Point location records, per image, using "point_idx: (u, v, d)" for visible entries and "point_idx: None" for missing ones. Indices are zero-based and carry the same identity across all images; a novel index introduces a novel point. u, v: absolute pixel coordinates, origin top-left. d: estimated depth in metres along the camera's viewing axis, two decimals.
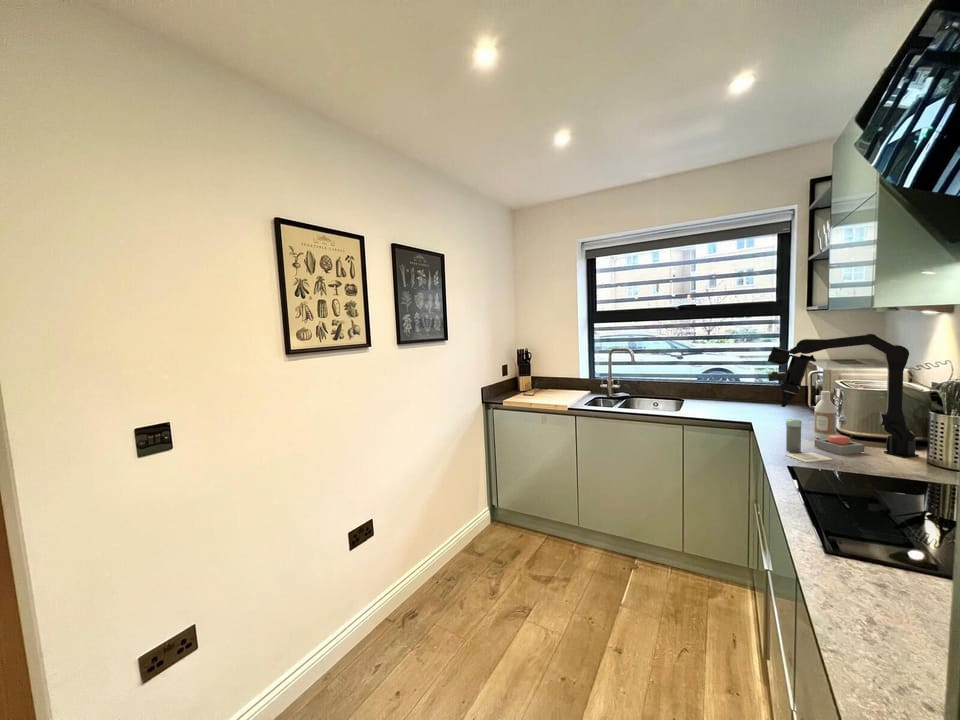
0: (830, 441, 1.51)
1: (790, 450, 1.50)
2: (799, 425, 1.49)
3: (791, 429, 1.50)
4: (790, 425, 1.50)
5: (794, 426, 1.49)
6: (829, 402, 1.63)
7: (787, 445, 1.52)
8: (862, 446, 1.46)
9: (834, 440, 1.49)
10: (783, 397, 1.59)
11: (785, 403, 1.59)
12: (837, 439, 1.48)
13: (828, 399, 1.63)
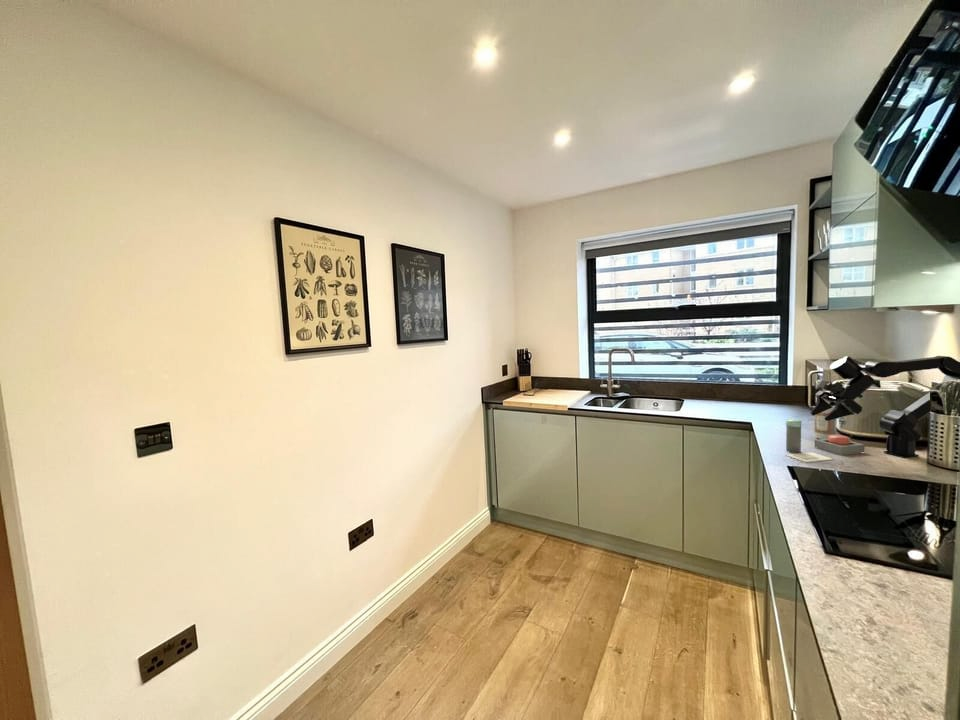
0: (830, 441, 1.51)
1: (790, 450, 1.50)
2: (799, 425, 1.49)
3: (791, 429, 1.50)
4: (790, 425, 1.50)
5: (794, 426, 1.49)
6: None
7: (787, 445, 1.52)
8: (862, 446, 1.46)
9: (834, 440, 1.49)
10: (835, 411, 1.42)
11: (831, 418, 1.43)
12: (837, 439, 1.48)
13: None
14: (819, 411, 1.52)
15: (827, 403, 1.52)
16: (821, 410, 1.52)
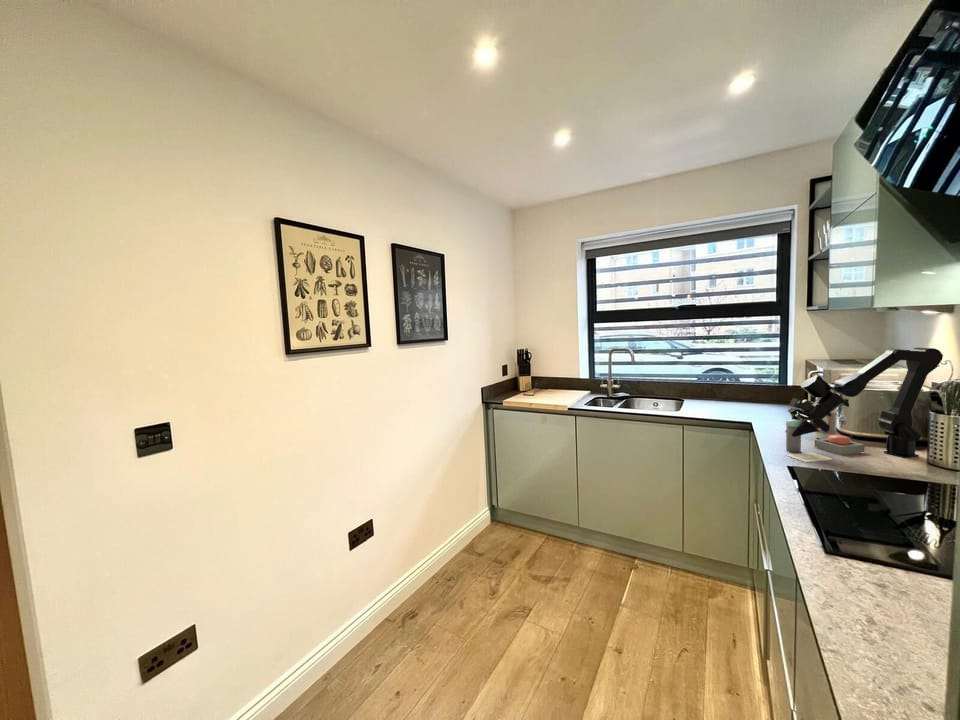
0: (830, 441, 1.51)
1: (790, 450, 1.50)
2: (799, 425, 1.49)
3: (791, 429, 1.50)
4: (790, 425, 1.50)
5: (794, 426, 1.49)
6: None
7: (787, 445, 1.52)
8: (862, 446, 1.46)
9: (834, 440, 1.49)
10: (801, 428, 1.47)
11: (798, 434, 1.48)
12: (837, 439, 1.48)
13: None
14: None
15: None
16: None
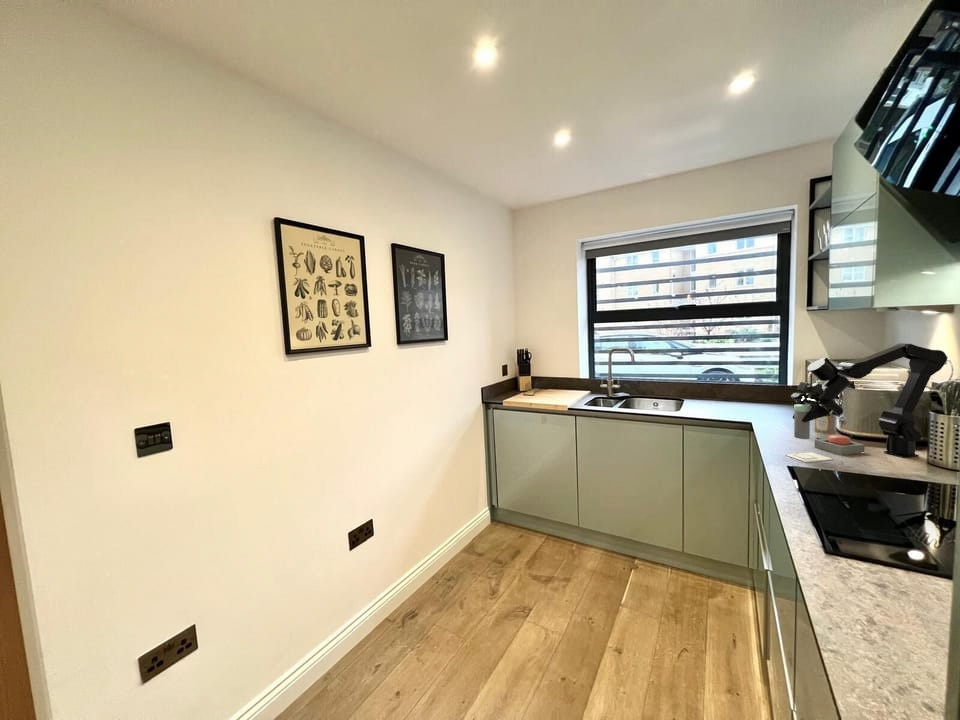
0: (830, 441, 1.51)
1: (800, 436, 1.44)
2: (809, 410, 1.43)
3: (801, 414, 1.43)
4: (800, 410, 1.44)
5: (804, 411, 1.43)
6: None
7: (796, 431, 1.45)
8: (862, 446, 1.46)
9: (834, 440, 1.49)
10: (812, 412, 1.41)
11: (808, 419, 1.42)
12: (837, 439, 1.48)
13: None
14: None
15: None
16: None
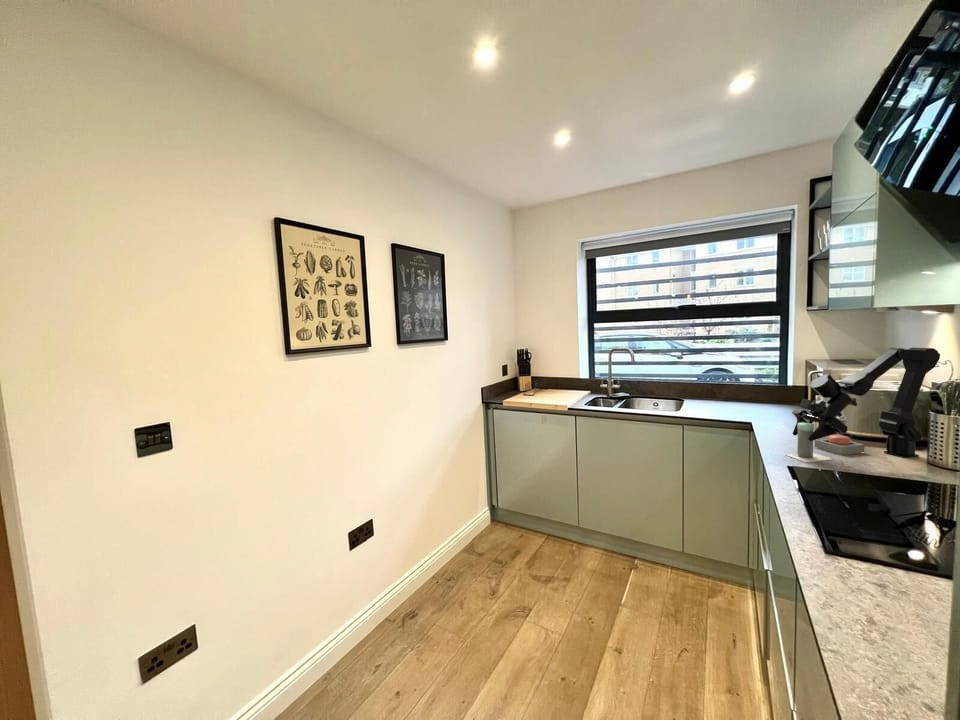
0: (830, 441, 1.51)
1: (803, 455, 1.43)
2: (812, 429, 1.41)
3: (805, 433, 1.42)
4: (803, 429, 1.42)
5: (808, 430, 1.41)
6: None
7: (799, 450, 1.44)
8: (862, 446, 1.46)
9: (834, 440, 1.49)
10: (819, 431, 1.38)
11: (815, 438, 1.39)
12: (837, 439, 1.48)
13: None
14: None
15: (807, 422, 1.48)
16: None
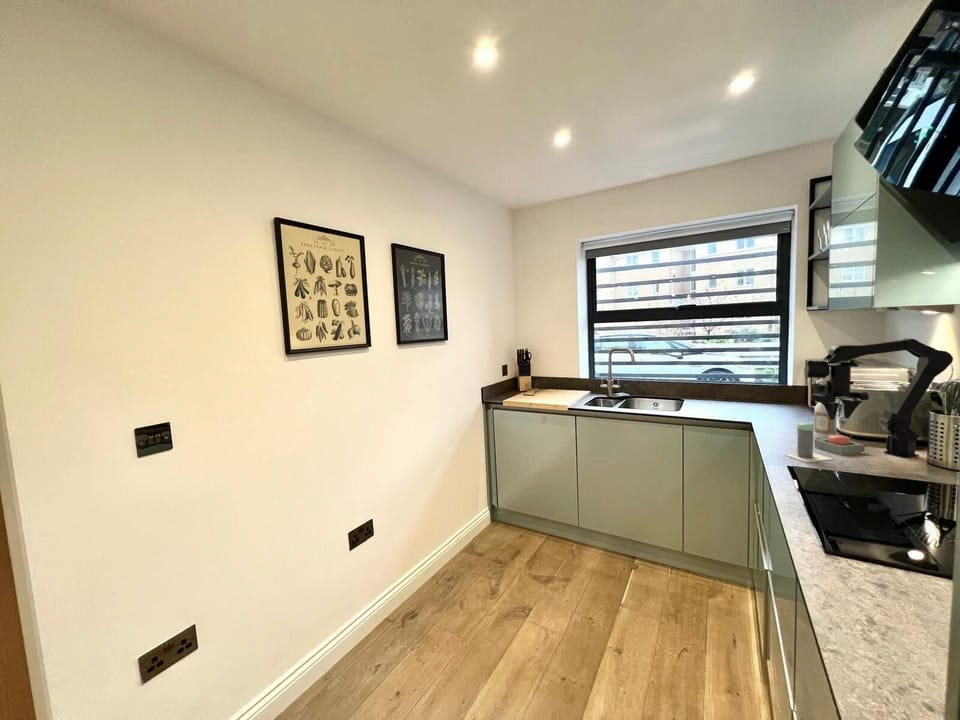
0: (830, 441, 1.51)
1: (803, 455, 1.43)
2: (812, 429, 1.41)
3: (804, 433, 1.42)
4: (803, 429, 1.42)
5: (808, 430, 1.41)
6: None
7: (799, 450, 1.44)
8: (862, 446, 1.46)
9: (834, 440, 1.49)
10: (826, 409, 1.50)
11: (831, 415, 1.49)
12: (837, 439, 1.48)
13: None
14: (849, 412, 1.49)
15: (850, 401, 1.49)
16: (849, 410, 1.49)
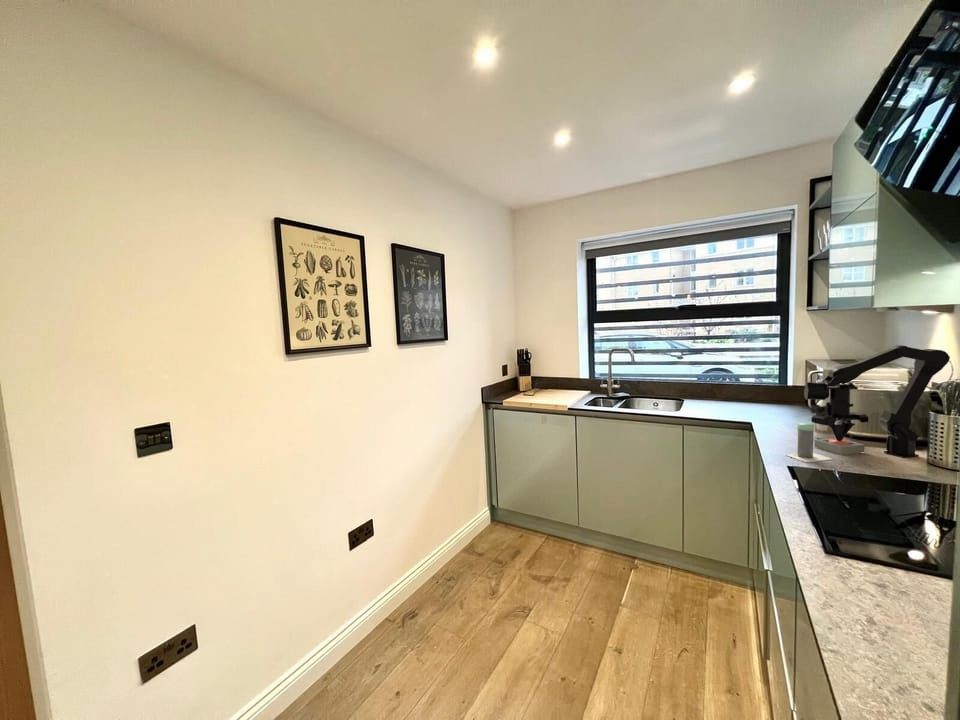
0: None
1: (803, 455, 1.43)
2: (812, 429, 1.41)
3: (805, 433, 1.42)
4: (804, 429, 1.42)
5: (808, 430, 1.41)
6: None
7: (800, 450, 1.44)
8: (862, 446, 1.46)
9: None
10: (833, 430, 1.51)
11: (838, 436, 1.50)
12: (837, 443, 1.49)
13: (828, 399, 1.63)
14: None
15: (843, 423, 1.49)
16: None
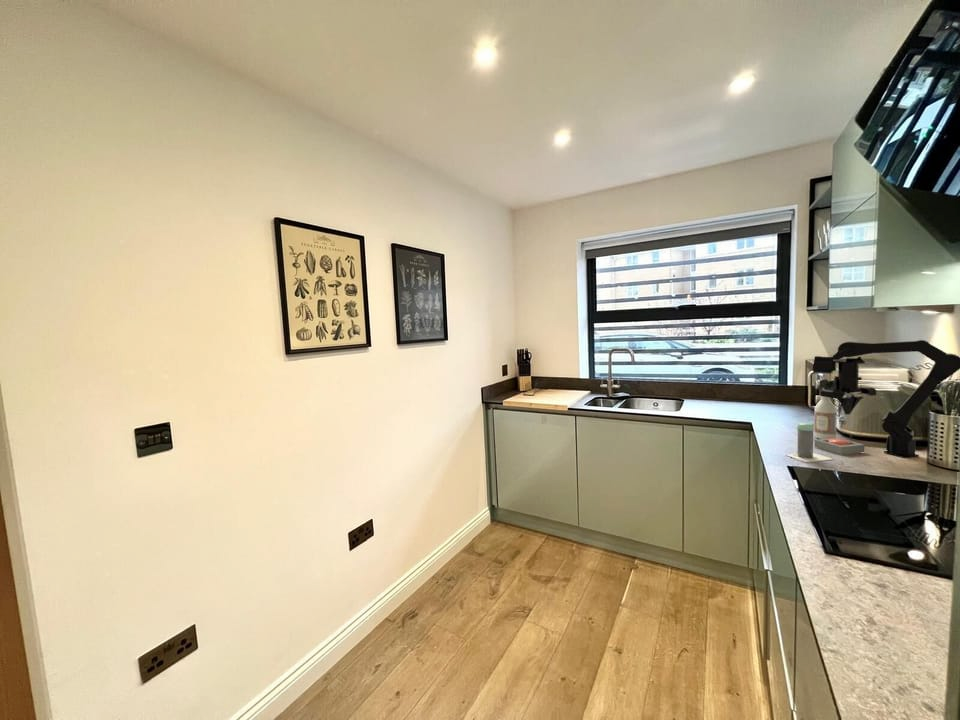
0: None
1: (803, 455, 1.43)
2: (812, 429, 1.41)
3: (804, 433, 1.42)
4: (803, 429, 1.42)
5: (808, 430, 1.41)
6: (829, 402, 1.63)
7: (799, 450, 1.44)
8: (862, 446, 1.46)
9: None
10: (841, 403, 1.53)
11: (846, 410, 1.52)
12: (837, 443, 1.49)
13: (828, 399, 1.63)
14: None
15: (851, 397, 1.51)
16: None
